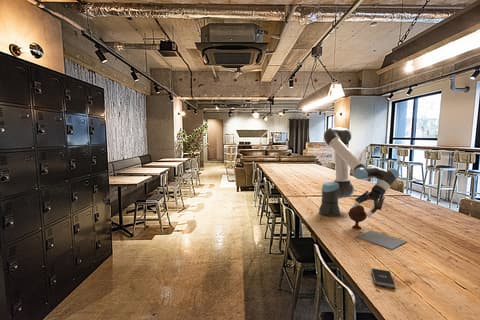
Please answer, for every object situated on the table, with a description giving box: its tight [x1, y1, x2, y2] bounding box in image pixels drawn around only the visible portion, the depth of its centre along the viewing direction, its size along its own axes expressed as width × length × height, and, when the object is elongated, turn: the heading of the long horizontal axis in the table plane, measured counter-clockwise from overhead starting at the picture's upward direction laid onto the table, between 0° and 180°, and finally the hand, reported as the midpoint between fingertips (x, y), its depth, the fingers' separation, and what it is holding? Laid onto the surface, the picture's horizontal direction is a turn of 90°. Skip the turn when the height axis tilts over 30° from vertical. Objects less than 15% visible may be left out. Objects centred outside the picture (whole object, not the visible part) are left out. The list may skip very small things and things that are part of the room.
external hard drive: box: [371, 268, 396, 290], centre depth 103 cm, size 7×11×2 cm, turn 160°
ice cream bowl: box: [347, 204, 368, 231], centre depth 161 cm, size 11×11×15 cm
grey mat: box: [354, 229, 408, 251], centre depth 143 cm, size 20×17×1 cm
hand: (359, 213), depth 161 cm, fingers open, 13 cm apart
